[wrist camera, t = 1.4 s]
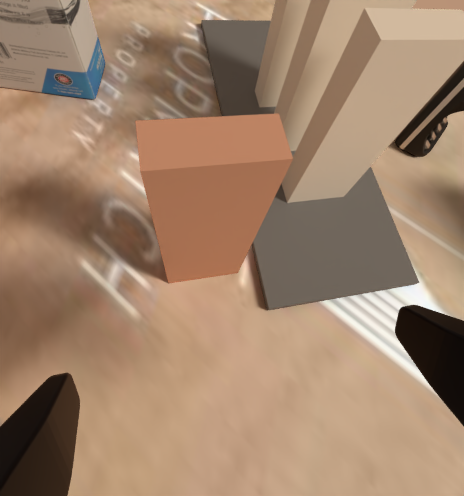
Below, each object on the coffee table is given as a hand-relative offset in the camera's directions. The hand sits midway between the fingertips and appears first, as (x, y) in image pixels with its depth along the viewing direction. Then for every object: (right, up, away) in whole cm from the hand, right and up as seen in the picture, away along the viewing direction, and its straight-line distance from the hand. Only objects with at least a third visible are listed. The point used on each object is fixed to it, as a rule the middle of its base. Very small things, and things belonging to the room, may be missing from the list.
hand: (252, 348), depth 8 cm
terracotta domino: (-3, +2, +14) cm, 14 cm away
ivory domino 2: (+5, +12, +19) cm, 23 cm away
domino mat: (+5, +13, +20) cm, 24 cm away
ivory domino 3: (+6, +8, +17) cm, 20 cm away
